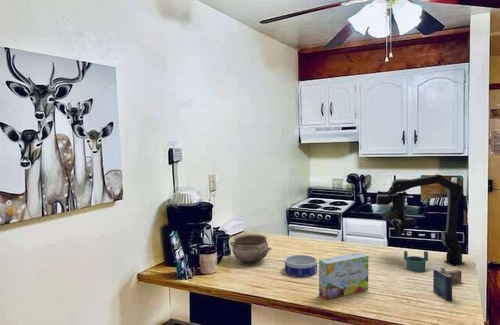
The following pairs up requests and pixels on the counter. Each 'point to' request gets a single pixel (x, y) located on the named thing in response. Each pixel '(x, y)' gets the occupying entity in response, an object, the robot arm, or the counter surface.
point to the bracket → (416, 262)
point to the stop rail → (455, 276)
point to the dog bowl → (301, 265)
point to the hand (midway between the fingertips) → (398, 235)
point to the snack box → (343, 275)
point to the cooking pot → (250, 247)
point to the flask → (442, 283)
